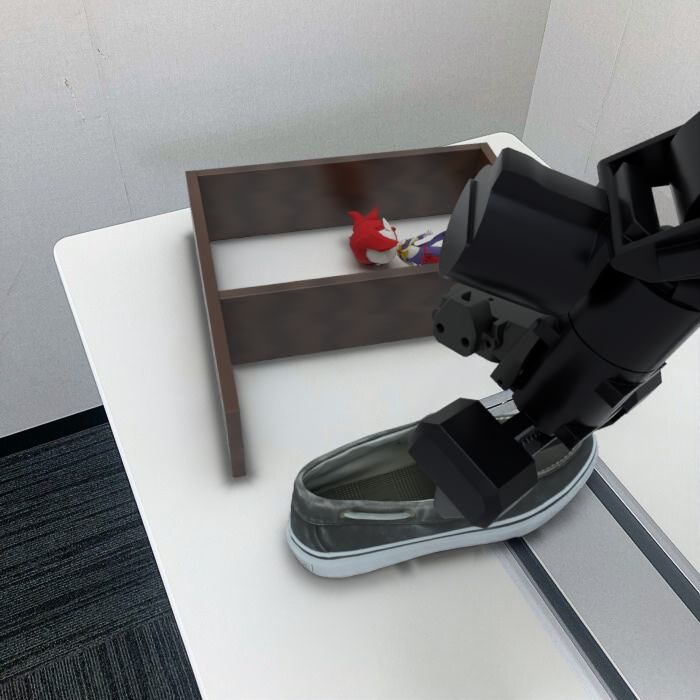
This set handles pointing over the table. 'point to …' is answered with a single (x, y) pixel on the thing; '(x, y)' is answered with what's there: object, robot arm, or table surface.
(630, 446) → the table surface
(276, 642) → the table surface
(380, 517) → the boat shoe
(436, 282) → the shoe rack
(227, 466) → the table surface
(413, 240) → the figurine
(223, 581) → the table surface
